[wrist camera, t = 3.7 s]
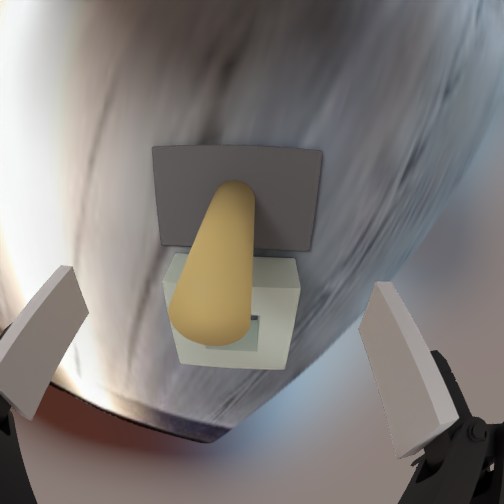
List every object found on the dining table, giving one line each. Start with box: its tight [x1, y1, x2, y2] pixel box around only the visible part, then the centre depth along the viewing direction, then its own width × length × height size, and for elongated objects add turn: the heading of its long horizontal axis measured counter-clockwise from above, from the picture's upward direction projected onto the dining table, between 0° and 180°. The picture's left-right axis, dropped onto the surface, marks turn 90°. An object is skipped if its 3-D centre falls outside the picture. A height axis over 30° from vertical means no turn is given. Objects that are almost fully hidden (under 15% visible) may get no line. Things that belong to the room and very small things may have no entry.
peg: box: [168, 180, 255, 346], centre depth 15 cm, size 3×3×12 cm
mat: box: [152, 145, 322, 251], centre depth 20 cm, size 12×8×1 cm, turn 88°
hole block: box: [162, 253, 301, 370], centre depth 24 cm, size 10×10×4 cm
